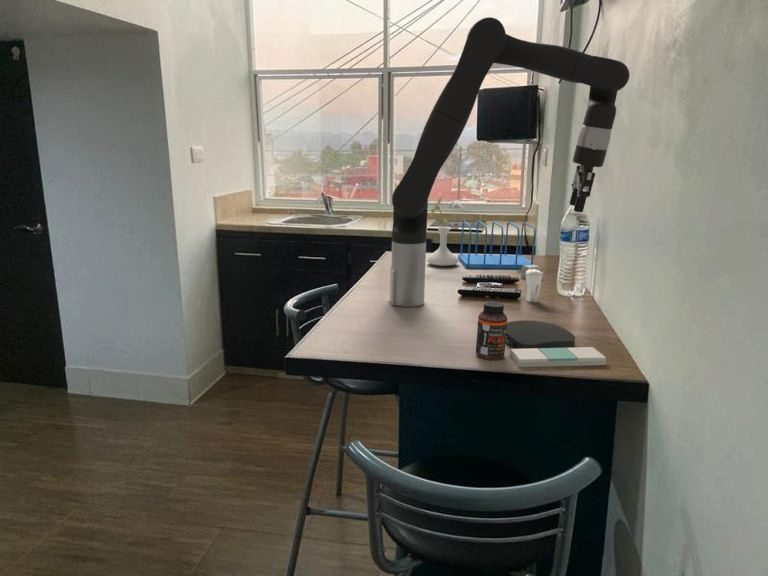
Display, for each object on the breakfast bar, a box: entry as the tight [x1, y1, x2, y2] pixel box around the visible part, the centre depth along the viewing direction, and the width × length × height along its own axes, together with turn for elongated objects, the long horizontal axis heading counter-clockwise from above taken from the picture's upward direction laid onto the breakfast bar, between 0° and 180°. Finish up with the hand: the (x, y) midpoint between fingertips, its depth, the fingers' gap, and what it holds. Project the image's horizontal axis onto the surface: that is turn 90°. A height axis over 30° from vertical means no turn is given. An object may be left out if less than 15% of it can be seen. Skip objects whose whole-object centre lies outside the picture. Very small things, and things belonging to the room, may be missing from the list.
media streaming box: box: [505, 320, 576, 349], centre depth 123 cm, size 15×15×3 cm
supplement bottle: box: [475, 300, 508, 361], centre depth 113 cm, size 6×6×11 cm
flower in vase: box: [426, 196, 459, 267], centre depth 196 cm, size 13×11×25 cm
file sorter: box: [457, 220, 537, 270], centre depth 202 cm, size 25×17×15 cm
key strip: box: [509, 346, 607, 368], centre depth 112 cm, size 18×6×2 cm, turn 95°
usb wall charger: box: [516, 264, 541, 279], centre depth 182 cm, size 4×7×4 cm, turn 111°
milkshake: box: [525, 268, 546, 303], centre depth 154 cm, size 4×5×10 cm
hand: (575, 208), depth 144 cm, fingers open, 8 cm apart
